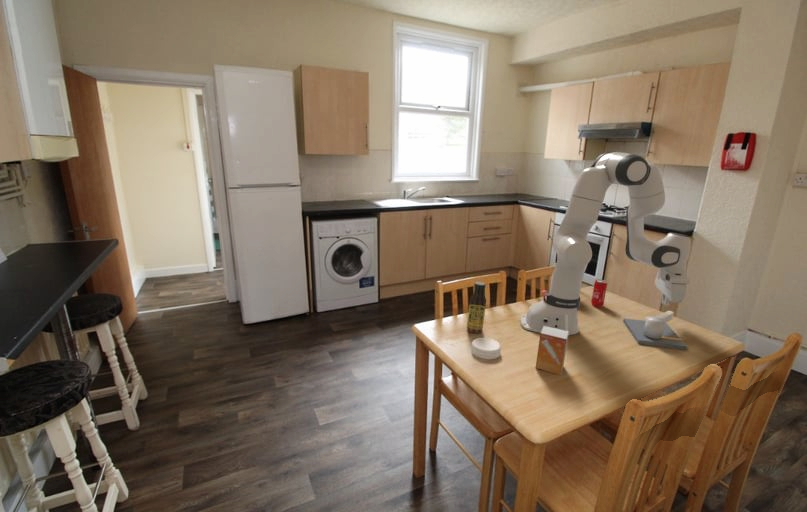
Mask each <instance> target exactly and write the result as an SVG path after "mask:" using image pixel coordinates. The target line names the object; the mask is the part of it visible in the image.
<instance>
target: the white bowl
mask: <svg viewBox="0 0 807 512" xmlns="http://www.w3.org/2000/svg"><path fill="white" fill-rule="evenodd" d="M501 346H502V345H501V343H499V341H497V340H496V339H492V338H489V337H477V338H475V339H473V340H472V342H471V353H472V354H473V355H474V356H475V357H477V358H479V359H483V360H494V359H495V360H496V359H497V358H499V357H500V355H501V349H502V347H501Z"/></svg>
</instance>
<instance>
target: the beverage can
mask: <svg viewBox="0 0 807 512" xmlns="http://www.w3.org/2000/svg"><path fill="white" fill-rule="evenodd" d="M607 287H608V282H607V281H606V280H605V279H595V280H594V285H593V288H592V289H593V290H592V295H591V306H593V307H597V308H602V307H603V305H605V304H604V303H605V298H606V292H607Z"/></svg>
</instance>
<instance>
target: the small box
mask: <svg viewBox="0 0 807 512" xmlns="http://www.w3.org/2000/svg"><path fill="white" fill-rule="evenodd" d="M569 336H570V335H569V331H564V330H560V329H556V328H551V327H546V326H543V329H542V331H541V333H540V334H539V341H538V346H537V347H538V349H537V353H536V363H535V369H538V370H543V371H545V372H549V373H553V374H556V375H559V376H561V375H562V372H563V369H564V364H565V359H566V354H567V353H566V352H567V348H568V347H567V346H568V341H569Z"/></svg>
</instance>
